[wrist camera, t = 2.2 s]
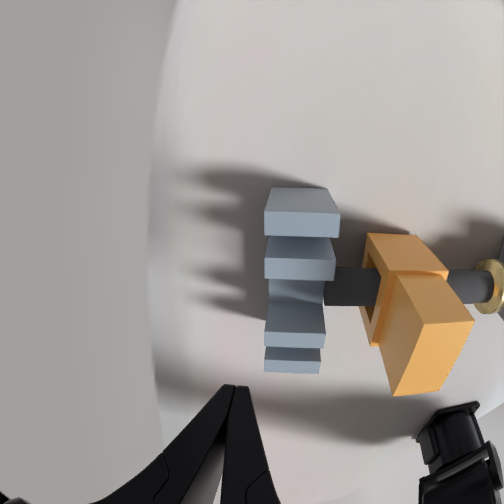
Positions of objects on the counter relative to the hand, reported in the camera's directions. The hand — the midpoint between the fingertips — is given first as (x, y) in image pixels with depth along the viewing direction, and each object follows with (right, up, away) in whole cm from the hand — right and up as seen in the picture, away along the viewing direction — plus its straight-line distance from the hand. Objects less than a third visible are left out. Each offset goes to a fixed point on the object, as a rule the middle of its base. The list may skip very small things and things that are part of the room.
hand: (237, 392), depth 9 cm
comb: (+3, +4, +8) cm, 10 cm away
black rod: (+11, +3, +6) cm, 13 cm away
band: (+16, +4, +7) cm, 17 cm away
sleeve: (+9, +4, +8) cm, 12 cm away
